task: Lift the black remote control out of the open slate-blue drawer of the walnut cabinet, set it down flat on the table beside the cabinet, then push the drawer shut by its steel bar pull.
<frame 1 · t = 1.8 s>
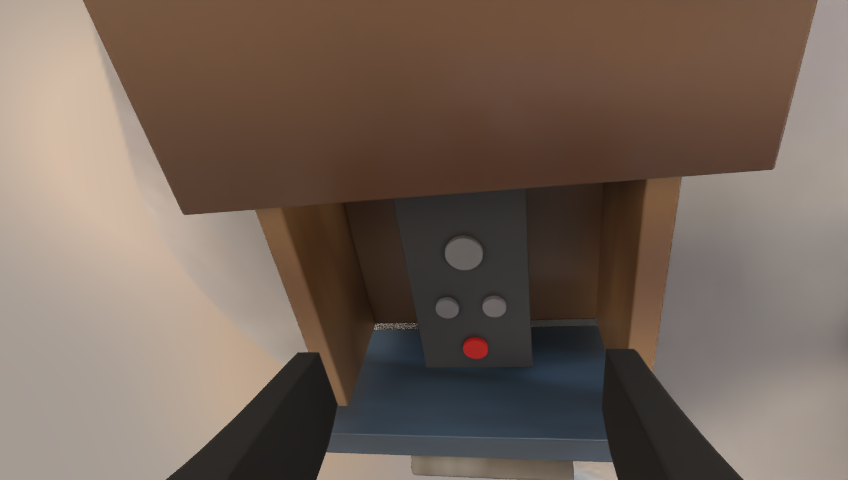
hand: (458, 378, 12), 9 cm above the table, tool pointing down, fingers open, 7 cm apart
drawer: (474, 309, 17), point 4 cm above the table, slide at 10.0 cm, touching remote
remote: (471, 238, 17), point 2 cm above the table, touching drawer
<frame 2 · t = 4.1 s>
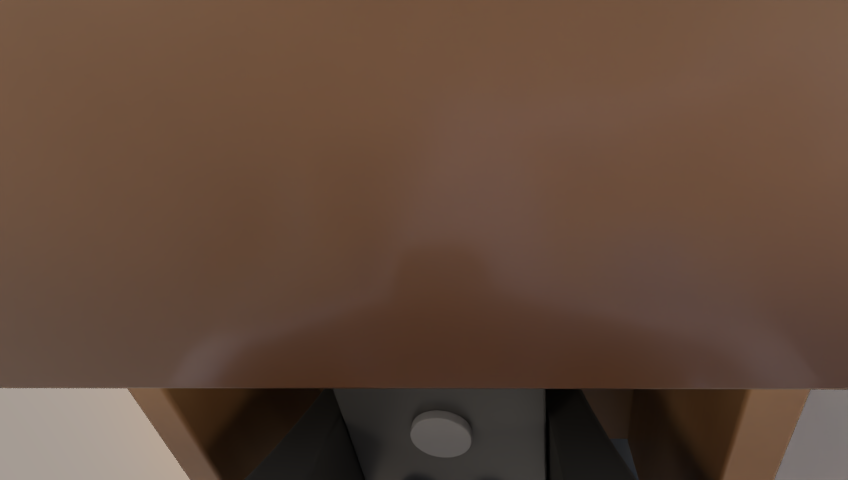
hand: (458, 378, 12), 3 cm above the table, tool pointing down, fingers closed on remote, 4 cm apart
drawer: (463, 444, 12), point 4 cm above the table, slide at 10.0 cm
remote: (458, 366, 12), point 3 cm above the table, touching gripper
when the fingers open (0 cm above the table, at t = 10.0 s): remote stays where it is, on the table.
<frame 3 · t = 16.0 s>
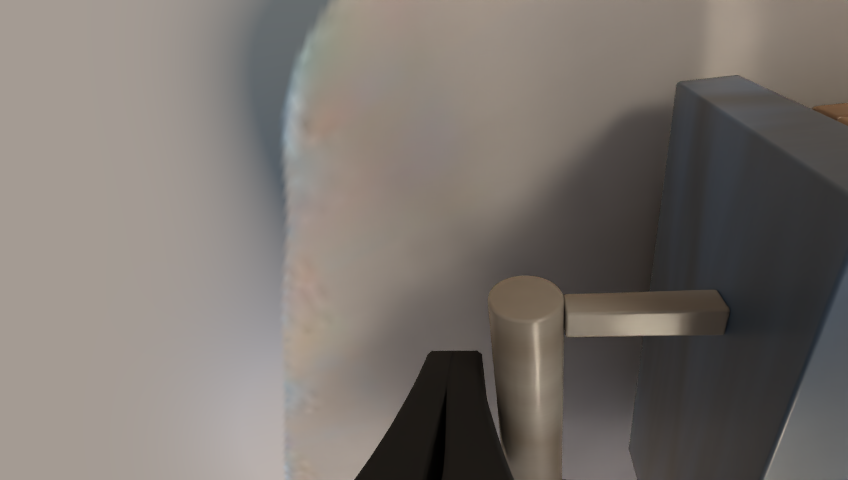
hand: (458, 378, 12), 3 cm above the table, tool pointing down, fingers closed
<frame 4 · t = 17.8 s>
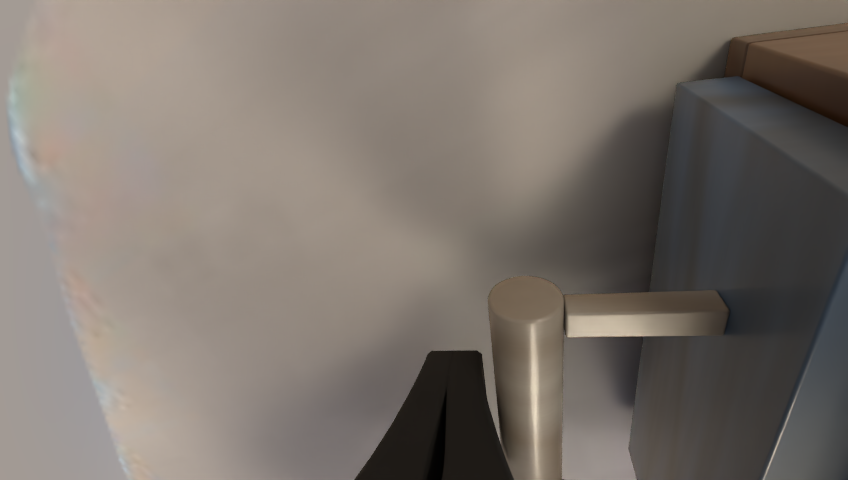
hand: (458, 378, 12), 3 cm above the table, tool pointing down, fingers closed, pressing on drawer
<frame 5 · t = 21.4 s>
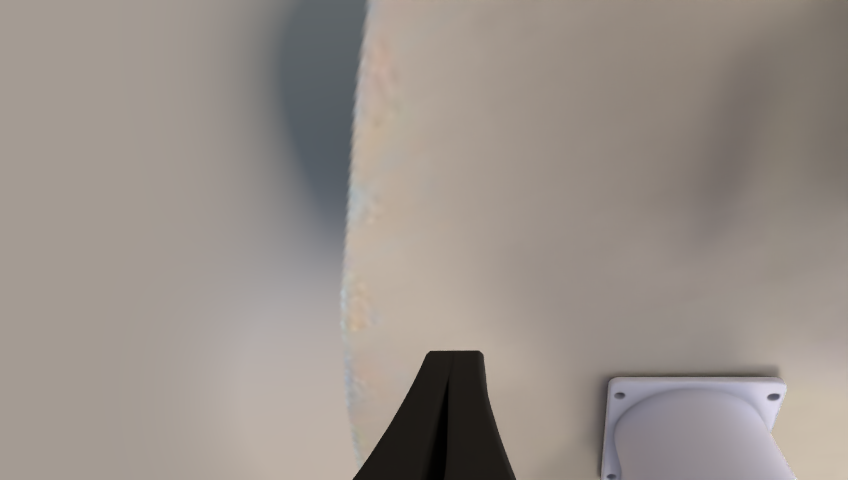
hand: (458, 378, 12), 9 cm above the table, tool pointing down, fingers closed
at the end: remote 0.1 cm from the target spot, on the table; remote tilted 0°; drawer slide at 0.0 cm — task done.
